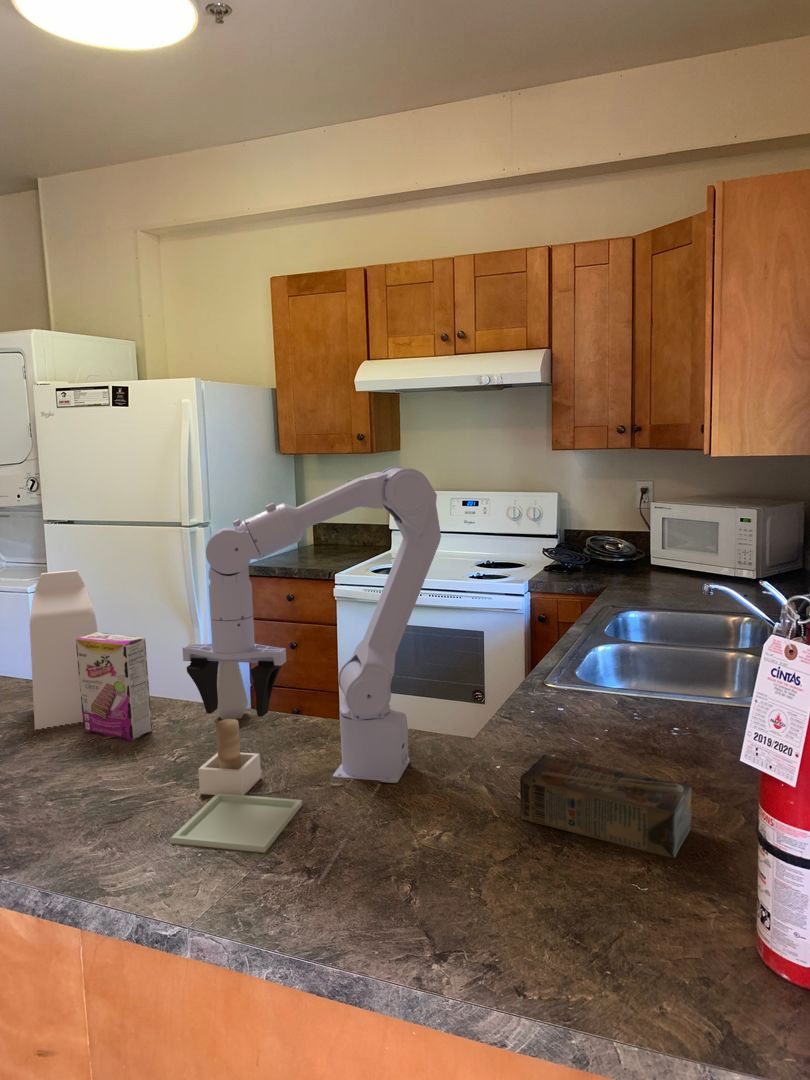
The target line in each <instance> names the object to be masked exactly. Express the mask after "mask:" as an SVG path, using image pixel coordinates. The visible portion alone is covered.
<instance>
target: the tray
mask: <svg viewBox="0 0 810 1080" xmlns="http://www.w3.org/2000/svg"><path fill="white" fill-rule="evenodd" d="M301 807H303V799H293V798H282V797H281V798H280V797H270V796H269V797H268V796H257V795H246V794H245V795H234V794H222V793H217V794H216V795H213V797H211V799H210V800H209V801H208V802H206V804H204V805H203V807H202V808H200V809H199V810H198V811H197V812H196V813H195V814H194V815H193V816H192V817H191V818H189V820H188V821H186V823H185V824H184V825H182V826H181V827H180V828H179V829H177V831H176V832H175V833H173V834H172V836H171V837H170V842H171V844H174V845H182V846H191V847H192V846H194V847H203V848H213V849H222V850H231V851H232V850H234V851H242V852H252V853H262V854H265V853H266V852H267V851H268V850H269V849H270V847H271V846H272V845H273V843H274V842H275V841H276V840H277V838H278V837H279V836H280V834H281V833H282V832H283V831H284V830H285V828H286V827H287V826H288V824H289V823H290V822H291V821H292V820H293V818H294V816H295V815H296V814H297V813H299V812H298V811H299V810H300V809H301Z"/></svg>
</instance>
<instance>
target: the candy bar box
mask: <svg viewBox="0 0 810 1080" xmlns="http://www.w3.org/2000/svg"><path fill="white" fill-rule="evenodd" d="M76 649H77V660H78V671H79V681H80V693H81V704H82V715H83V722H82V725H83V732H85V733H91V734H96V735H102V736H107V737H112V738H116V739H123V740H124V739H125V740H128V741H135V740H137V739H138V738H137V737H139V736H141V737H142V735H143V736H145V735H146V733H147V734H149V733H151V732H152V731H153V723H152V722H153V721H152V711H151V710H152V709H151V699H150V685H149V684H150V683H149V674H148V672H149V671H148V660H147V659H148V658H147V657H148V656H147V643H146V637H141V636H132V635H124V634H123V635H122V634H115V633H107V632H96V633H92V634H88V635H85V636H81V637H79V638H77V639H76ZM144 734H145V735H144ZM136 738H137V739H136ZM139 738H140V737H139ZM134 739H135V740H134Z"/></svg>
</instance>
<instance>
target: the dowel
mask: <svg viewBox="0 0 810 1080" xmlns="http://www.w3.org/2000/svg"><path fill="white" fill-rule="evenodd" d="M239 725H240V724H239V719H236V720H235V719H225V720H222V719H221V720H219V721H217V722H216V723H215V727H216V730H215V731H216V744H217V745H216V747H217V753H218V762H219V768H220V769H234V770H239V769H240V768H241V757H240V752H241V743H240V729H239V728H240V726H239Z"/></svg>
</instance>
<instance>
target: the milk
mask: <svg viewBox="0 0 810 1080" xmlns="http://www.w3.org/2000/svg"><path fill="white" fill-rule="evenodd" d="M93 605H94V604H93V603H92V599H91V596H90V593H89V592H88V589H87V585H86V584H85V582H84V581H83V579H82V576H81V575H80V573H79V571H78V570H77V569H74V570H73V569H72V570H65V571H64V570H61V571H54V572H53V571H52V572H51V571H49V572H42V573H40V576H39V578H38V581H37V583H36V586H35V588H34V591H33V597H32V603H31V606H30V607H31V609H30V619H29V636H30V638H29V639H30V656H31V679H32V680H31V681H32V698H33V699H32V700H33V716H34V717H33V718H34V720H33V721H34V731H36V729H38V730H43V729H42V728H44V729H48V728H47V727H51V728H54V727H53V726H57V727H60V726H59V725H63V726H66V725H65V724H69V725H72V724H71V723H75V724H78V723H77V722H81V723H83V715H82V704H81V693H80V681H79V671H78V660H77V649H76V639H77V638H79V637H81V636H85V635H88V634H92V633H96V632H98V625H97V619H96V618H97V617H96V614H95V609H94V606H93Z"/></svg>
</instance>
